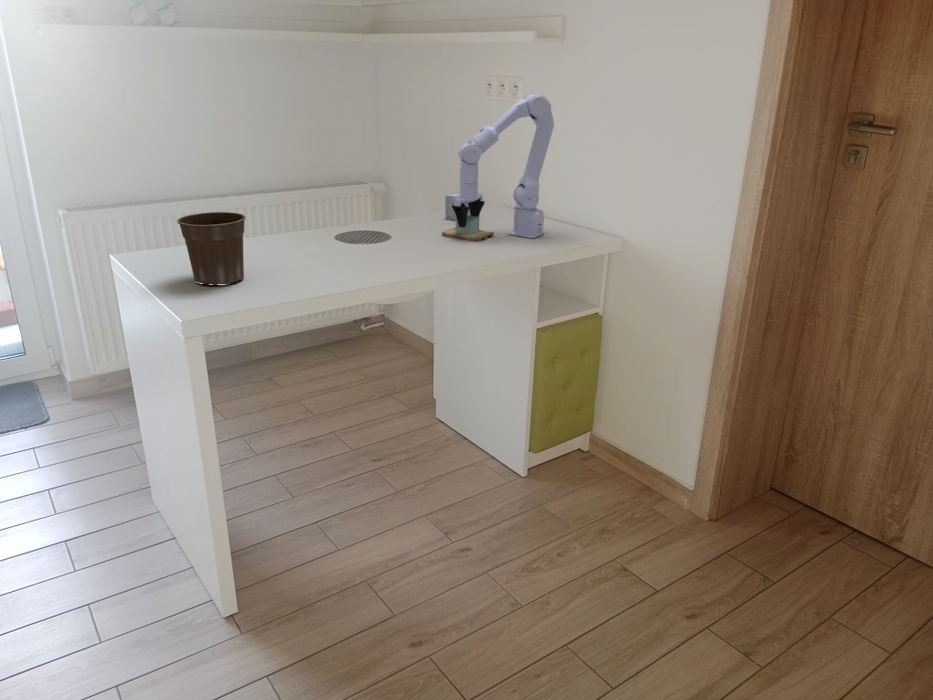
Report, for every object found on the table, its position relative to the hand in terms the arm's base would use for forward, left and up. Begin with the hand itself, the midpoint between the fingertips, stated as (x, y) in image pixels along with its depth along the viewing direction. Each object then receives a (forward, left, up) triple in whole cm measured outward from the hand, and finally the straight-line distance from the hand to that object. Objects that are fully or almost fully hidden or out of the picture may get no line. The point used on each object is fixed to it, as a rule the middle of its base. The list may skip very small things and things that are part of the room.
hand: (468, 225), depth 232 cm
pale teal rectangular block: (0, 0, -2) cm, 2 cm away
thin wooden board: (0, 0, -4) cm, 4 cm away
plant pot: (+27, +79, -4) cm, 84 cm away
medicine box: (+16, -19, -4) cm, 25 cm away
